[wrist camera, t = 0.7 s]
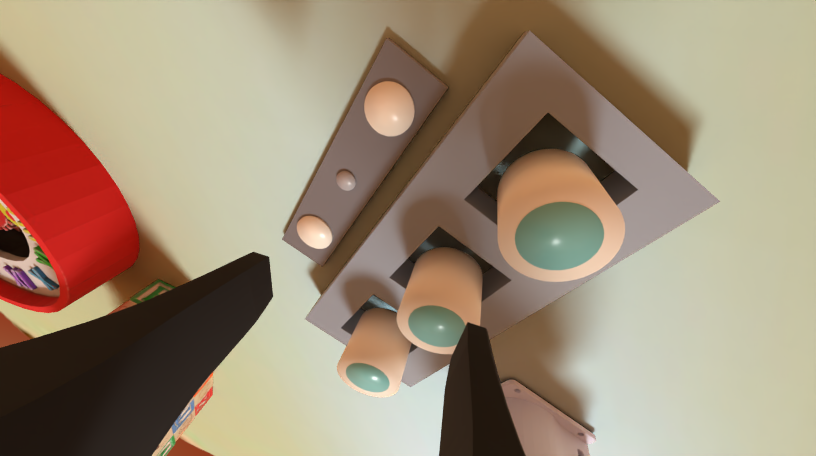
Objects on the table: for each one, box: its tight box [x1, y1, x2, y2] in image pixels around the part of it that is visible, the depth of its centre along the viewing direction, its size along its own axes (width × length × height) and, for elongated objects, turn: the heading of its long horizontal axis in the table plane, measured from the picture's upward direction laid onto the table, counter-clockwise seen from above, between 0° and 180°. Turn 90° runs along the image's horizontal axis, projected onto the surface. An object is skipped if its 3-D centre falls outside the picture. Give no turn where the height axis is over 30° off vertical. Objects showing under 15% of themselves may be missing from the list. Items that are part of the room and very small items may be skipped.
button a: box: [337, 308, 412, 397], centre depth 20 cm, size 4×4×4 cm
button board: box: [305, 31, 720, 387], centre depth 18 cm, size 10×22×2 cm, turn 145°
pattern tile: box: [282, 38, 448, 266], centre depth 18 cm, size 4×15×1 cm, turn 145°
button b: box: [397, 247, 483, 354], centre depth 16 cm, size 4×4×4 cm
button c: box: [497, 149, 625, 282], centre depth 12 cm, size 4×4×4 cm
